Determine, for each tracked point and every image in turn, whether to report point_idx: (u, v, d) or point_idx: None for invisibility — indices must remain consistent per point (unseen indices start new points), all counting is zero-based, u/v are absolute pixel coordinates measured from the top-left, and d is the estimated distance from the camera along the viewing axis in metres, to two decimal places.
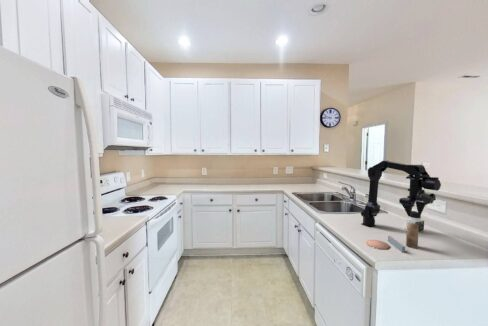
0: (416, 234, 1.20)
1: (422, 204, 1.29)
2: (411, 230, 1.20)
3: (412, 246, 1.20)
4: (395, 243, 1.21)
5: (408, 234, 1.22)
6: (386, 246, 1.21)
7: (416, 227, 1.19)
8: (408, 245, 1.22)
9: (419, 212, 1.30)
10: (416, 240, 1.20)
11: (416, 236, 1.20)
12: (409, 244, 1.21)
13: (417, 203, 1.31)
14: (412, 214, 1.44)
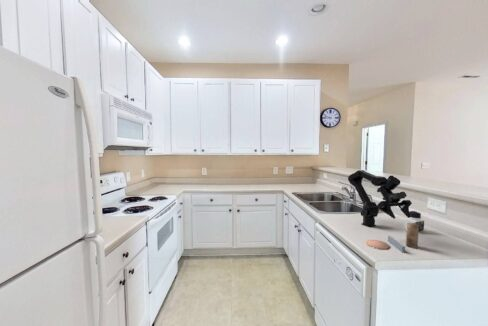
0: (416, 234, 1.20)
1: (405, 207, 1.32)
2: (411, 230, 1.20)
3: (412, 246, 1.20)
4: (395, 243, 1.21)
5: (408, 234, 1.22)
6: (386, 246, 1.21)
7: (416, 227, 1.19)
8: (408, 245, 1.22)
9: (407, 215, 1.30)
10: (416, 240, 1.20)
11: (416, 236, 1.20)
12: (409, 244, 1.21)
13: (402, 209, 1.34)
14: (412, 214, 1.44)
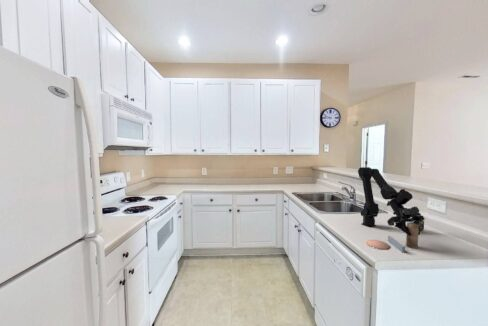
0: (416, 234, 1.20)
1: None
2: (411, 230, 1.20)
3: (412, 246, 1.20)
4: (395, 243, 1.21)
5: None
6: (386, 246, 1.21)
7: (416, 227, 1.19)
8: (408, 245, 1.22)
9: None
10: (416, 240, 1.20)
11: (416, 236, 1.20)
12: (409, 244, 1.21)
13: None
14: None
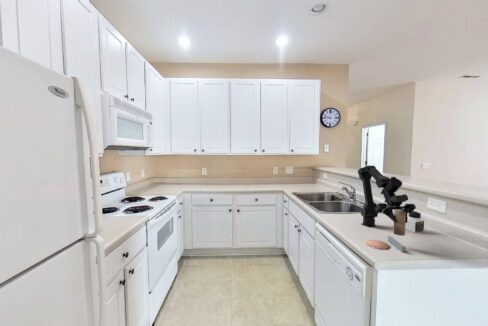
0: (402, 221, 1.19)
1: None
2: (397, 217, 1.20)
3: (398, 233, 1.20)
4: (395, 243, 1.21)
5: None
6: (386, 246, 1.21)
7: (402, 214, 1.19)
8: (394, 232, 1.21)
9: None
10: (402, 227, 1.19)
11: (402, 223, 1.19)
12: (395, 231, 1.21)
13: None
14: (412, 214, 1.44)
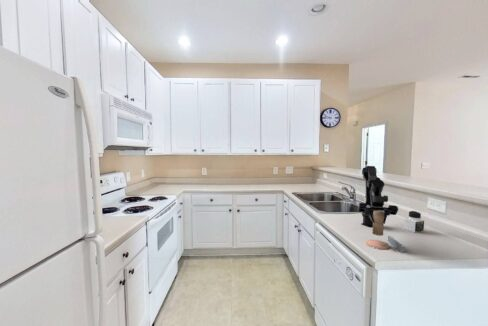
0: (378, 221, 1.21)
1: (384, 212, 1.24)
2: (374, 217, 1.23)
3: (375, 233, 1.23)
4: (395, 243, 1.21)
5: None
6: (386, 246, 1.21)
7: (378, 214, 1.21)
8: (372, 232, 1.24)
9: None
10: (379, 227, 1.21)
11: (379, 223, 1.21)
12: (373, 231, 1.24)
13: None
14: (412, 214, 1.44)
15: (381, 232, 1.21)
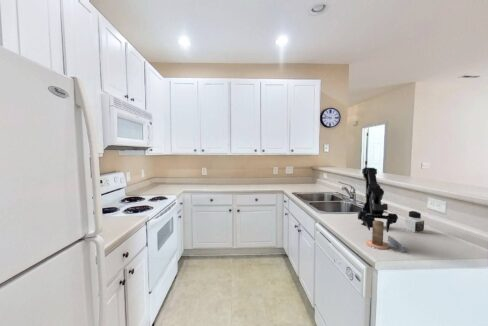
0: (378, 231, 1.22)
1: (387, 221, 1.24)
2: (374, 227, 1.23)
3: (374, 243, 1.23)
4: (395, 243, 1.21)
5: None
6: (386, 246, 1.21)
7: (378, 224, 1.21)
8: (372, 241, 1.25)
9: None
10: (378, 237, 1.22)
11: (378, 233, 1.22)
12: (373, 241, 1.24)
13: (386, 223, 1.26)
14: (412, 214, 1.44)
15: (381, 242, 1.22)
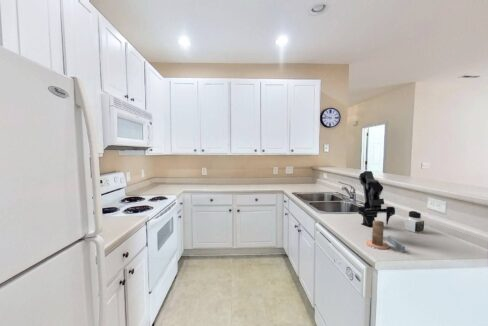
0: (378, 231, 1.22)
1: (386, 214, 1.32)
2: (374, 227, 1.23)
3: (374, 243, 1.23)
4: (395, 243, 1.21)
5: (372, 231, 1.25)
6: (386, 246, 1.21)
7: (378, 224, 1.21)
8: (372, 241, 1.25)
9: (386, 223, 1.30)
10: (378, 237, 1.22)
11: (378, 233, 1.22)
12: (373, 241, 1.24)
13: None
14: (412, 214, 1.44)
15: (381, 242, 1.22)
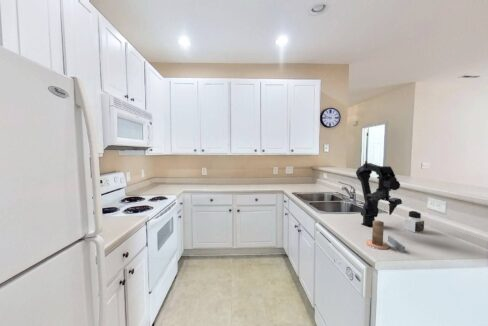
0: (378, 231, 1.22)
1: None
2: (374, 227, 1.23)
3: (374, 243, 1.23)
4: (395, 243, 1.21)
5: None
6: (386, 246, 1.21)
7: (378, 224, 1.21)
8: (372, 241, 1.25)
9: None
10: (378, 237, 1.22)
11: (378, 233, 1.22)
12: (373, 241, 1.24)
13: None
14: (412, 214, 1.44)
15: (381, 242, 1.22)
